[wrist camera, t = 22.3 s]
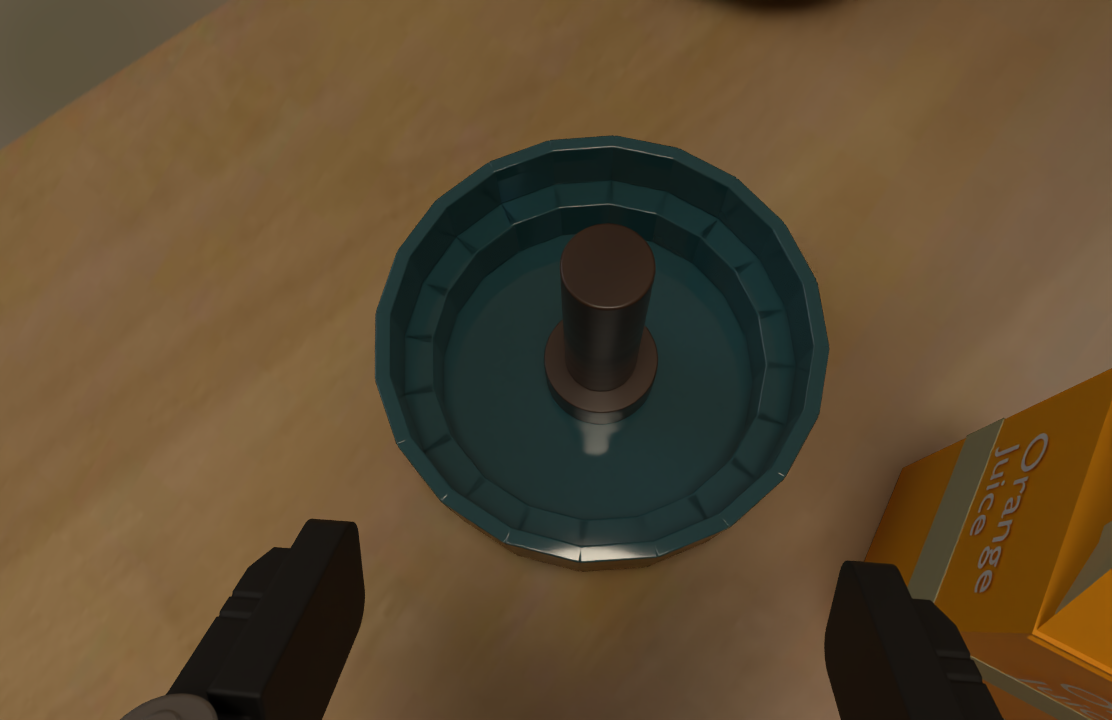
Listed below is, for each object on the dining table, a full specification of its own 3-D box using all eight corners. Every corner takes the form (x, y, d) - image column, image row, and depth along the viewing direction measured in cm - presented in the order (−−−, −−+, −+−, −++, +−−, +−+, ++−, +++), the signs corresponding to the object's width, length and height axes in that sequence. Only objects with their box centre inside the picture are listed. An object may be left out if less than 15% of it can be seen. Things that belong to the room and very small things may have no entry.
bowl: (852, 318, 36) (903, 261, 30) (666, 654, 32) (685, 662, 26) (539, 151, 39) (532, 72, 34) (332, 435, 35) (283, 399, 29)
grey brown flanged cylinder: (673, 355, 35) (713, 242, 24) (618, 444, 34) (634, 366, 23) (582, 303, 36) (583, 172, 25) (525, 388, 35) (501, 288, 24)
